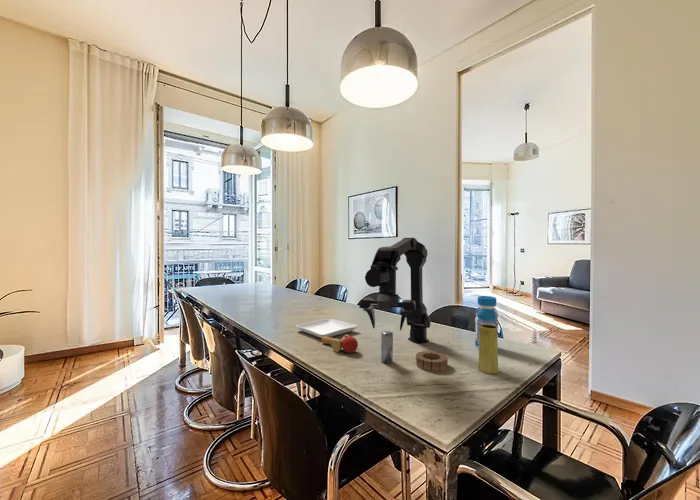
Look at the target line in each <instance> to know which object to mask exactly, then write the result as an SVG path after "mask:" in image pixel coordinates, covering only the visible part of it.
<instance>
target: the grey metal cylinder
mask: <svg viewBox="0 0 700 500" xmlns="http://www.w3.org/2000/svg"><path fill="white" fill-rule="evenodd" d="M380 334H381V336H380V337H381V340H380V341H381V342H380V343H381V344H380V347H381V348H380V361H381V363H382V364H385V365H390V364H393V363H394V360H393V359H394V356H393V355H394V332H393V331H390V330H384V331H381V332H380Z"/></svg>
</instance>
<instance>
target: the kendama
mask: <svg viewBox="0 0 700 500" xmlns="http://www.w3.org/2000/svg"><path fill="white" fill-rule="evenodd" d="M320 342H321V343H322V344H324V345H325V344H328V345H331V348H332V349H333V351H334V352H338V353H339V352H341V351H342V350H343V352H346V354H352V353H355V352H356V351H357V349H358V348H359V346H358V344H359V342H358V341H357V338H355V337H354V336H351V335H349V334H343V336H342V338H341V339H338V338H334V337H326V336H323V337H322V338H321V341H320Z"/></svg>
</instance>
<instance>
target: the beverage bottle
mask: <svg viewBox="0 0 700 500" xmlns="http://www.w3.org/2000/svg"><path fill="white" fill-rule="evenodd" d="M477 305H478V307H477V309H476V311H475V319H474V323H475V341H474V345H475V347H476V348H477V349H479V339H480V325H482V324H490V325H494V326H497V327H498V328H499V320H498V317H499V312H498V311H497V309H496V308H495V307H497V297H495V296H490V295H479V296H477ZM498 342H499V341H497V346H498V347H499V344H498Z"/></svg>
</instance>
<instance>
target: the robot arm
mask: <svg viewBox="0 0 700 500" xmlns="http://www.w3.org/2000/svg"><path fill="white" fill-rule="evenodd" d="M403 255H404V256H405V261H406V263H407V265H408V266H409V268H410V299H403V301H400V297H399V294H397V271H398V269H399V267H398V266H397V265H398V263H399V262H400V261H401V256H403ZM427 257H428V250H427V248H426V246H425V244H423V243H422V242H420V241H418V240H417V238H415V237H403V238H402V239H401V240H399V241H397V242H396V243H394V244H393V245H388V246H380V247H378V248H377V250H376V253H375V255H374V256H373V260H372V263H371V265H370V269H369V270H367V272H366V273H365V275H364V279H365V283H366V284H367V285H368V286H369V287H370V288H375V287H376V288H377V287H379V288H378V294H377V298H376V300H374V298H373V297H362V298H361V299H360V300H359V304H358V305H359V306H358V307H359V309H363V311H364V312H366V313H367V315H368V317H369V320H370V324H371V326H372V329H375V327H376V315H375V307H376V308H377V309H378V310H388V311H391V310H392V309H393V308H402V310H401V315H400V323H399V331H402V328H403V326H404V323H405V320H406V326H410V329H409V337H408V338H407V339H408V340H409V341H411V342H414V343H416V344H421V343H426V342H430V339H428V338H427V329H430V328H431V323H432V321H431V319H430V316H429V315H428V309H427V307H426V305H425V304H424V302H423V300H424V299H423V295H424V294H423V267H424V266H425V264H426V262H427Z"/></svg>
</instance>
